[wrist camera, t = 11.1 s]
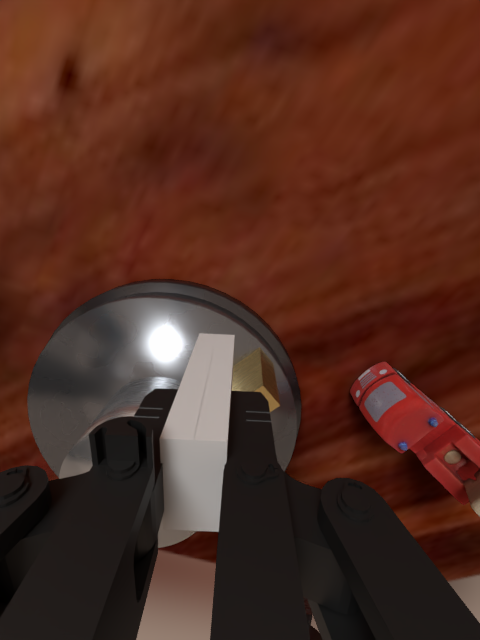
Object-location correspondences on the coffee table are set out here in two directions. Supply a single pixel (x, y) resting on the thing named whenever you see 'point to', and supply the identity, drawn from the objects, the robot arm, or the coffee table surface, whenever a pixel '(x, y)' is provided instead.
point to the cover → (118, 406)
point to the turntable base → (208, 295)
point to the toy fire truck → (420, 430)
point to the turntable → (144, 365)
